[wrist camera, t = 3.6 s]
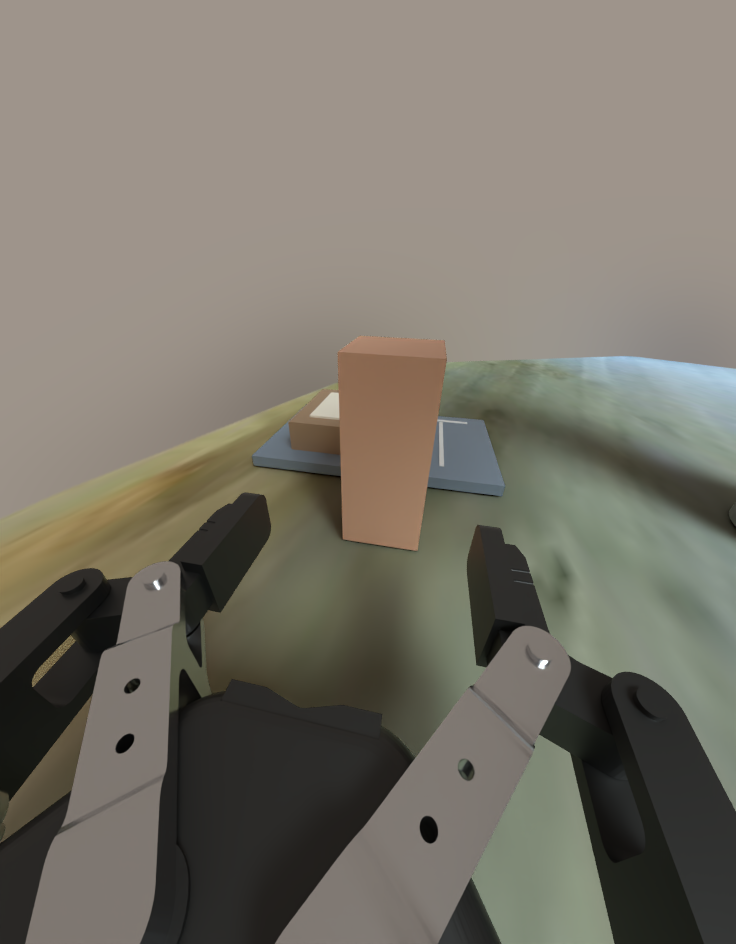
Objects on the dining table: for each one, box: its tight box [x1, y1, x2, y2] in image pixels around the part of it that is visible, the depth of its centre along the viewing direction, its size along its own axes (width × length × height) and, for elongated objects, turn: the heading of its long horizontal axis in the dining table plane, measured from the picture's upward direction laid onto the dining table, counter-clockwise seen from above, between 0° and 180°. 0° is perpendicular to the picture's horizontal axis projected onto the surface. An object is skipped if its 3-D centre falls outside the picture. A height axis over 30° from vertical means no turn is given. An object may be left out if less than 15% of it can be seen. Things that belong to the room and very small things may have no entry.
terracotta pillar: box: [338, 336, 447, 551], centre depth 19 cm, size 5×5×12 cm
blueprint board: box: [252, 389, 505, 496], centre depth 32 cm, size 22×14×4 cm, turn 79°
